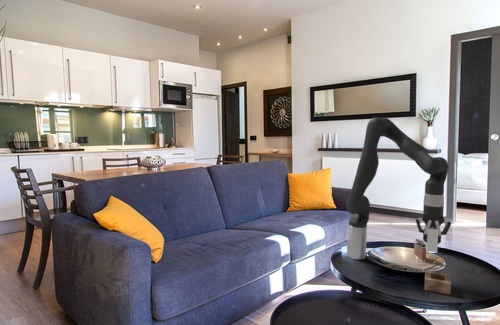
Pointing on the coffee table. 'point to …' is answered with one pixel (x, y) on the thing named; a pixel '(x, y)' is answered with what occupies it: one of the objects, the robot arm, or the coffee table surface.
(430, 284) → the slot holder
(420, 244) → the terracotta planter
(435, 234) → the square peg
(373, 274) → the coffee table surface
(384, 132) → the robot arm
